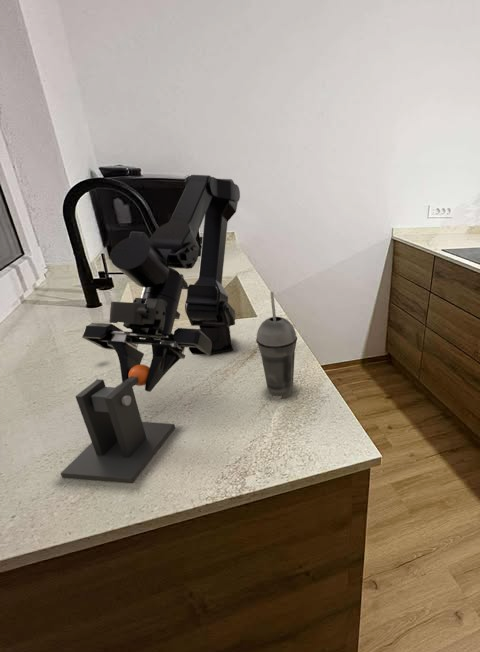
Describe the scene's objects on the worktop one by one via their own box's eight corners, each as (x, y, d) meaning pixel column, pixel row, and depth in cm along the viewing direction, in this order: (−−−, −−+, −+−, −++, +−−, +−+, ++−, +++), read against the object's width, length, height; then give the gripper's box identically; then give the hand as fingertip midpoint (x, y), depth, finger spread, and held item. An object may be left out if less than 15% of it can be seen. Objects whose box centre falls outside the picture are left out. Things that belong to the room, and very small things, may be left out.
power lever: (138, 379, 64) (134, 360, 62) (158, 380, 64) (155, 361, 62) (91, 414, 53) (85, 392, 52) (115, 415, 53) (110, 394, 52)
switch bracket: (117, 426, 64) (97, 365, 59) (176, 431, 64) (161, 369, 58) (63, 481, 53) (33, 411, 48) (133, 486, 53) (111, 417, 48)
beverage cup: (267, 407, 71) (257, 303, 61) (257, 387, 76) (247, 290, 67) (304, 397, 74) (301, 298, 64) (292, 379, 79) (287, 285, 70)
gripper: (72, 273, 58) (37, 372, 53) (193, 280, 58) (170, 381, 53) (117, 305, 69) (92, 390, 64) (220, 311, 68) (202, 398, 63)
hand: (136, 390), depth 61 cm, fingers closed on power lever, 3 cm apart
